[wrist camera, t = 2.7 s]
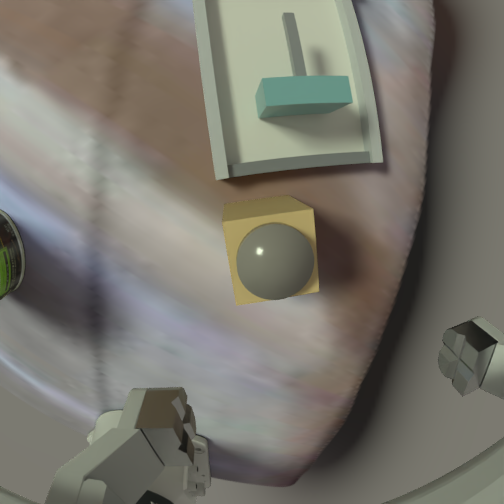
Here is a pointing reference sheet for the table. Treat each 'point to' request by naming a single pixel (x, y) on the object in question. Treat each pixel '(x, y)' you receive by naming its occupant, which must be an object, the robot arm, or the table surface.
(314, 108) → the pusher
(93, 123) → the table surface
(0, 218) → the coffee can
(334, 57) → the tray
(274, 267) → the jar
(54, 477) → the robot arm
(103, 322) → the table surface
